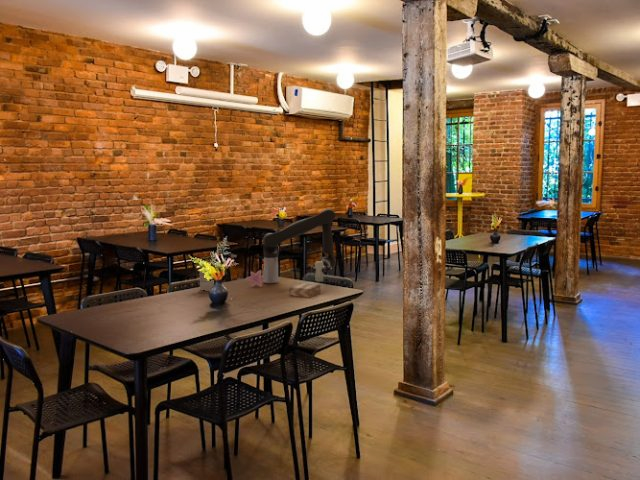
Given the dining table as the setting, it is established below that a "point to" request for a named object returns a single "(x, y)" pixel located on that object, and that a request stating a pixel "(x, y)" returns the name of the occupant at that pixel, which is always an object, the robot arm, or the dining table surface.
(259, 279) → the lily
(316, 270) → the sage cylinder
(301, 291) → the birch plinth
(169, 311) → the dining table surface
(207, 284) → the supplement box
